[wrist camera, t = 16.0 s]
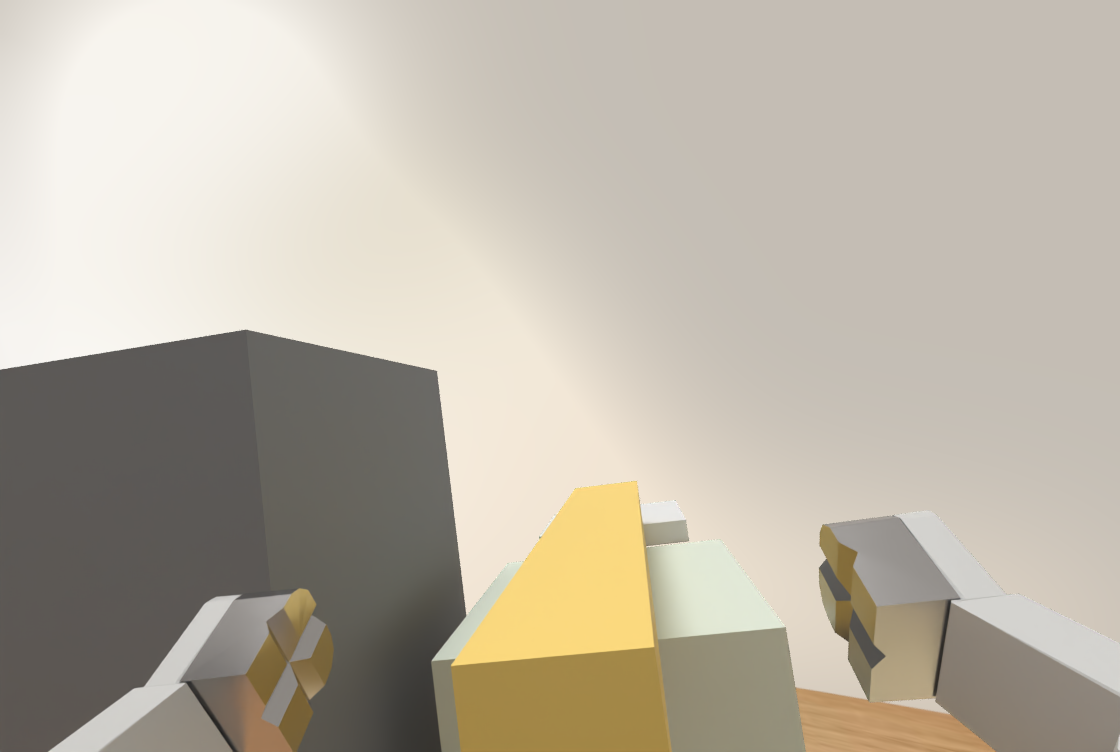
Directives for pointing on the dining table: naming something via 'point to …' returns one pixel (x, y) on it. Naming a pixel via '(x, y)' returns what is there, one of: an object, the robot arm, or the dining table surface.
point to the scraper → (574, 637)
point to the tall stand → (223, 526)
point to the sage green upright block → (688, 655)
